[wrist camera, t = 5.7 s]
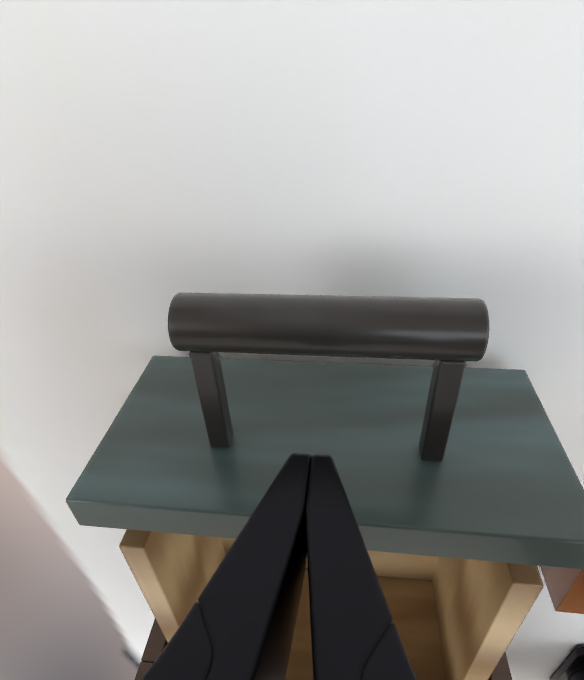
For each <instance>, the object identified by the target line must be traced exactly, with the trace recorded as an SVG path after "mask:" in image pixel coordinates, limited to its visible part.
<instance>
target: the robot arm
mask: <svg viewBox="0 0 584 680" xmlns="http://www.w3.org/2000/svg"><path fill="white" fill-rule="evenodd" d="M306 563H308V585H309V605H310V625H311V646H312V666H313V680H417V679H416V676H415V674H414V671H413V669H412V666H411V664H410V661H409V659H408V657H407V654H406V652H405V649H404V647H403V644H402V641H401V639H400V636H399V633H398V631H397V628H396V625H395V624H394V623H392V622H393V618H392V615H391V613H390V610H389V607H388V604H387V602H386V599H385V596H384V594H383V591H382V588H381V586H380V583H379V580H378V578H377V575H376V572H375V570H374V567H373V564H372V562H371V559H370V556H369V554H368V551H367V548H366V546H365V543H364V540H363V538H362V535H361V532H360V530H359V527H358V524H357V521H356V519H355V516H354V513H353V511H352V508H351V505H350V503H349V500H348V497H347V495H346V492H345V489H344V487H343V484H342V481H341V479H340V476H339V473H338V471H337V468H336V465H335V463H334V460H333V458H332V456H331V455H327V454H313V455H312V457H311V455H310V454H308V453H292V454H291V455H290V456H289V457H288V459H287V460H286V462H285V464H284V465H283V467H282V468H281V470H280V471H279V473H278V474H277V476H276V478H275V479H274V481H273V482H272V484H271V485H270V487H269V488H268V490H267V492H266V493H265V495H264V496H263V498H262V499H261V501H260V502H259V504H258V506H257V507H256V509H255V510H254V512H253V513H252V515H251V516H250V518H249V520H248V521H247V523H246V524H245V526H244V527H243V529H242V530H241V532H240V534H239V535H238V537H237V538H236V540H235V541H234V543H233V544H232V546H231V548H230V549H229V551H228V552H227V554H226V555H225V557H224V558H223V560H222V562H221V563H220V565H219V566H218V568H217V569H216V571H215V572H214V574H213V576H212V577H211V579H210V580H209V582H208V583H207V585H206V586H205V588H204V590H203V591H202V593H201V594H200V596H199V597H198V602H196V603H194V605H193V606H192V608H191V609H190V611H189V612H188V614H187V616H186V617H185V619H184V620H183V622H182V623H181V625H180V626H179V628H178V629H177V631H176V632H175V634H174V635H173V637H172V638H171V639H170V641H169V642H168V644H167V645H166V647H165V648H164V650H163V651H162V653H161V654H160V655H159V657H158V658H157V659H156V661H155V662H154V663H153V665H152V666H151V667H150V668H149V670H148V671H147V672H146V674H145V675H144V676H143V678H142V679H141V680H285V678H286V673H287V667H288V662H289V657H290V651H291V646H292V640H293V635H294V629H295V624H296V619H297V613H298V608H299V602H300V597H301V591H302V586H303V581H304V575H305V569H306ZM550 680H584V647H580V648H576V649H574V650H573V652H572V653H571V654H570V655H569V657H568V658H567V659H566V660H565V661H564V663H563V664H562V665H561V666H560V668H559V669H558V670H557V671H556V672H555V674H554V675H553V676H552V677H551V678H550Z"/></svg>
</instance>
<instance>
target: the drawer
mask: <svg viewBox="0 0 584 680" xmlns="http://www.w3.org/2000/svg"><path fill="white" fill-rule="evenodd" d="M168 331H169V337H170V341H171V343H172V345H173V347H174V348H175V349H177V350H179V351H190V352H189V355H190V357H173V356H153V357H152V359H151V360H150V362H149V363H148V365H147V367H146V368H145V370H144V372H143V373H142V375H141V377H140V378H139V380H138V382H137V383H136V385H135V386H134V388H133V390H132V391H131V393H130V395H129V396H128V398H127V400H126V401H125V403H124V405H123V406H122V408H121V409H120V411H119V413H118V414H117V416H116V418H115V419H114V421H113V423H112V424H111V426H110V428H109V429H108V431H107V432H106V434H105V436H104V437H103V439H102V441H101V442H100V444H99V446H98V447H97V449H96V451H95V452H94V454H93V456H92V457H91V459H90V460H89V462H88V464H87V465H86V467H85V469H84V470H83V472H82V474H81V475H80V477H79V479H78V480H77V482H76V483H75V485H74V487H73V488H72V490H71V492H70V493H69V495H68V497H67V498H66V502H67V504H68V506H69V507H70V509H71V511H72V513H73V514H74V516H75V518H76V520H77V521H78V523H79V524H80V525H86V526H97V527H108V528H120V529H127V530H126V532H125V534H124V537H123V539H122V541H121V543H120V546H119V547H120V549H121V551H122V553H123V555H124V557H125V559H126V561H127V563H128V565H129V567H130V569H131V571H132V573H133V575H134V577H135V579H136V581H137V583H138V585H139V587H140V589H141V591H142V593H143V595H144V597H145V599H146V600H147V602H148V604H149V606H150V608H151V610H152V612H153V614H154V616H155V618H156V620H157V622H158V624H159V626H160V628H161V630H162V632H163V634H164V636H165V638H166V640H167V642H169V641H170V639H171V638H172V637H173V635H174V634H175V632H176V631H177V629H178V628H179V626H180V625H181V623H182V622H183V620H184V619H185V617H186V616H187V614H188V612H189V611H190V609H191V608H192V606H193V605H194V603H196V602H198V597H199V596H200V594H201V593H202V591H203V590H204V588H205V586H206V585H207V583H208V582H209V580H210V579H211V577H212V576H213V574H214V572H215V571H216V569H217V568H218V566H219V565H220V563H221V562H222V560H223V558H224V557H225V555H226V554H227V552H228V551H229V549H230V548H231V546H232V544H233V543H234V541H235V540H236V538H237V537H238V535H239V534H240V532H241V530H242V529H243V527H244V526H245V524H246V523H247V521H248V520H249V518H250V516H251V515H252V513H253V512H254V510H255V509H256V507H257V506H258V504H259V502H260V501H261V499H262V498H263V496H264V495H265V493H266V492H267V490H268V488H269V487H270V485H271V484H272V482H273V481H274V479H275V478H276V476H277V474H278V473H279V471H280V470H281V468H282V467H283V465H284V464H285V462H286V460H287V459H288V457H289V456H290V455H291V454H292V453H308V454H310V455H311V457H312V455H313V454H327V455H331V456H332V458H333V460H334V463H335V465H336V468H337V471H338V473H339V476H340V479H341V481H342V484H343V487H344V489H345V492H346V495H347V497H348V500H349V503H350V505H351V508H352V511H353V513H354V516H355V519H356V521H357V524H358V527H359V530H360V532H361V535H362V538H363V540H364V543H365V546H366V548H367V551H368V554H369V556H370V559H371V562H372V564H373V567H374V570H375V572H376V575H377V578H378V580H379V583H380V586H381V588H382V591H383V594H384V596H385V599H386V602H387V604H388V607H389V610H390V613H391V615H392V618H393V622H392V623H394V624H395V625H396V628H397V631H398V633H399V636H400V639H401V641H402V644H403V647H404V649H405V652H406V654H407V657H408V659H409V661H410V664H411V666H412V669H413V671H414V674H415V676H416V679H417V680H488V679H489V677H490V675H491V673H492V672H493V670H494V668H495V667H496V665H497V663H498V662H499V660H500V658H501V657H502V655H503V653H504V652H505V650H506V648H507V647H508V645H509V643H510V642H511V640H512V638H513V637H514V635H515V633H516V632H517V630H518V628H519V627H520V625H521V623H522V622H523V620H524V618H525V617H526V615H527V613H528V612H529V610H530V608H531V607H532V605H533V603H534V601H535V600H536V598H537V596H538V595H539V593H540V591H541V590H542V588H543V582H542V579H541V576H540V574H539V571H538V568H537V565H539V566H550V567H561V568H572V569H584V489H583V487H582V485H581V483H580V481H579V479H578V477H577V475H576V473H575V471H574V469H573V467H572V465H571V463H570V461H569V459H568V457H567V455H566V453H565V451H564V449H563V447H562V445H561V443H560V441H559V439H558V436H557V434H556V432H555V430H554V428H553V426H552V424H551V422H550V420H549V418H548V416H547V414H546V412H545V410H544V408H543V406H542V404H541V402H540V400H539V398H538V396H537V394H536V392H535V390H534V388H533V386H532V384H531V382H530V380H529V378H528V375H527V373H526V371H525V370H514V369H487V368H465V366H466V361H479V360H481V359H482V357H483V356H484V353H485V351H486V347H487V343H488V337H489V316H488V311H487V307H486V304H485V302H484V301H483V300H481V299H475V298H425V297H375V296H325V295H275V294H225V293H178V294H176V295H175V296H174V297H173V299H172V301H171V304H170V308H169V314H168ZM219 352H232V353H259V354H287V355H314V356H342V357H369V358H396V359H424V360H434V366H409V365H382V364H356V363H330V362H304V361H278V360H251V359H225V358H220V355H219ZM285 679H287V680H313V666H312V646H311V625H310V605H309V585H308V563H306V569H305V575H304V581H303V586H302V591H301V597H300V602H299V608H298V613H297V619H296V624H295V629H294V635H293V640H292V646H291V651H290V657H289V662H288V667H287V673H286V678H285Z"/></svg>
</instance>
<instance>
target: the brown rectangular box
mask: <svg viewBox="0 0 584 680" xmlns="http://www.w3.org/2000/svg"><path fill="white" fill-rule="evenodd" d="M540 567H541V570H542V573H543V576H544V579H545V582H546V585H547V588H548V591H549V594H550V597H551V600H552V602H553V605H554V608H555V611H559V612H569V613H579V614H584V569H572V568H561V567H550V566H540Z"/></svg>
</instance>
